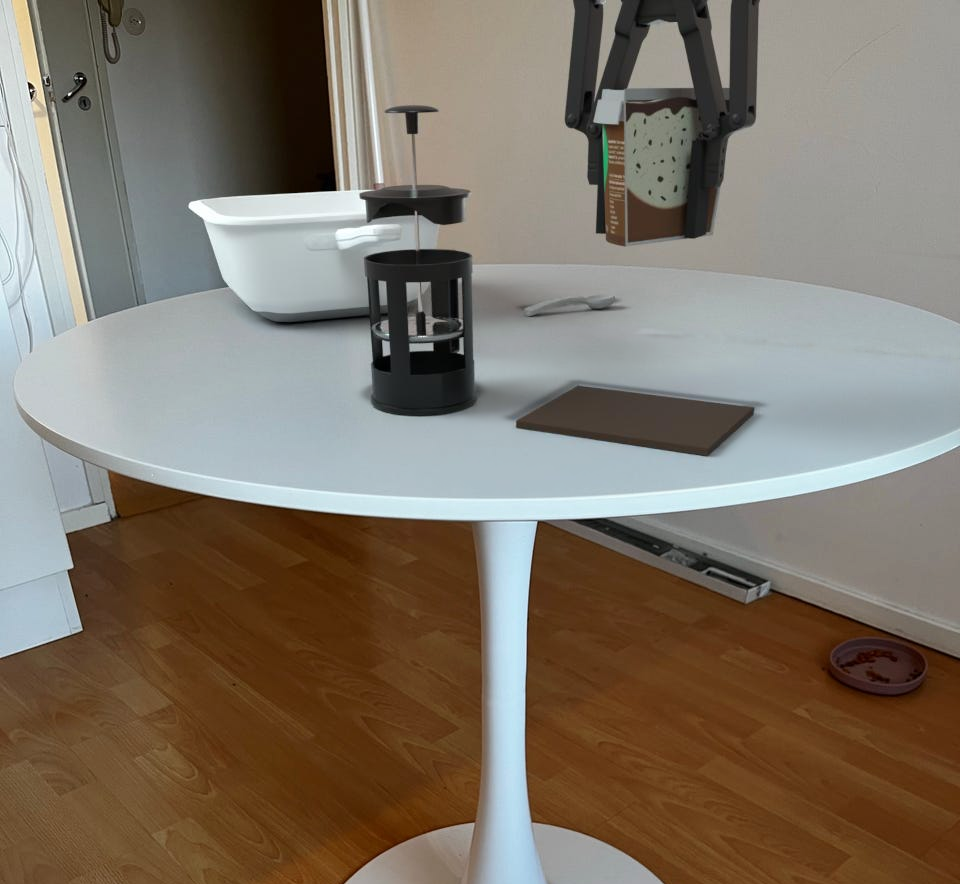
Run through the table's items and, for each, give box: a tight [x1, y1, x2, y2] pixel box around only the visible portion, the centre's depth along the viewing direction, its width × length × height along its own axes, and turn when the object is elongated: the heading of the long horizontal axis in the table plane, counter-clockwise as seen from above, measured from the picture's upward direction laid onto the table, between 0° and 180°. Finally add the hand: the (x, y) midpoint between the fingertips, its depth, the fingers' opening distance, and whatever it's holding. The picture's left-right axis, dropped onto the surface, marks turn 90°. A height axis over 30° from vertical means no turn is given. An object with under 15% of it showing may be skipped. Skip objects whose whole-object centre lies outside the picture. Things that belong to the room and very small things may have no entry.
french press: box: [359, 104, 478, 416], centre depth 83 cm, size 12×9×23 cm
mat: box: [515, 385, 755, 457], centre depth 82 cm, size 16×12×1 cm
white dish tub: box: [188, 189, 441, 323], centre depth 117 cm, size 28×44×13 cm, turn 21°
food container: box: [593, 87, 729, 247], centre depth 75 cm, size 12×6×10 cm, turn 127°
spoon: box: [523, 293, 616, 317], centre depth 122 cm, size 3×12×2 cm, turn 112°
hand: (650, 233), depth 77 cm, fingers closed on food container, 6 cm apart
